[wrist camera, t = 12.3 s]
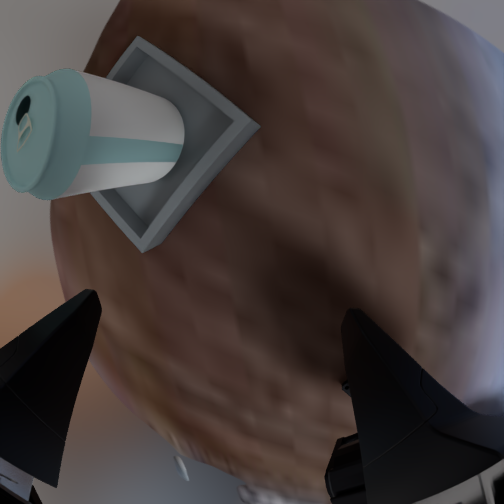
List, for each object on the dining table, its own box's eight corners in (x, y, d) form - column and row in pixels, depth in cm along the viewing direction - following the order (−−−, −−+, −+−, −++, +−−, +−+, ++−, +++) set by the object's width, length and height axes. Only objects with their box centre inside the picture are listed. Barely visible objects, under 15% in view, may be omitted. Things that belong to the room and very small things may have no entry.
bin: (261, 126, 19) (251, 119, 16) (161, 243, 23) (142, 253, 21) (156, 46, 19) (137, 35, 16) (82, 154, 23) (61, 156, 20)
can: (106, 164, 22) (-12, 177, 10) (135, 88, 19) (19, 59, 8) (166, 197, 21) (41, 231, 10) (203, 113, 19) (84, 70, 7)
